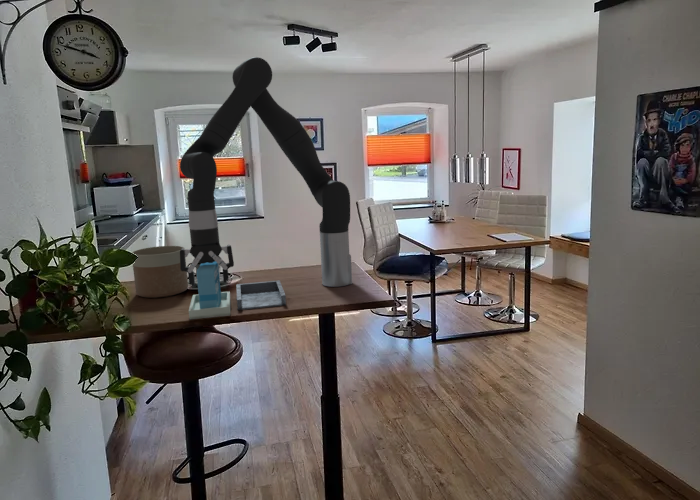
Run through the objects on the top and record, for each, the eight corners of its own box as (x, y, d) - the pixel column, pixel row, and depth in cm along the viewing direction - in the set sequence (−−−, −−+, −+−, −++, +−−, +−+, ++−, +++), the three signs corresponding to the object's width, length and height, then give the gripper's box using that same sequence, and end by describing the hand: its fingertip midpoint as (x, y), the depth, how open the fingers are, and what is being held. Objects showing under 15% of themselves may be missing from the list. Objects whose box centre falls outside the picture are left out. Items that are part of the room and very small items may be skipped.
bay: (280, 289, 166) (279, 280, 165) (286, 305, 148) (285, 295, 148) (237, 293, 163) (236, 284, 162) (237, 310, 145) (236, 299, 145)
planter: (187, 283, 179) (183, 244, 176) (190, 294, 164) (185, 251, 161) (137, 289, 173) (132, 248, 171) (135, 301, 159) (130, 257, 156)
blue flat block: (217, 312, 142) (213, 269, 140) (200, 313, 142) (196, 270, 139) (221, 300, 154) (218, 260, 152) (205, 301, 153) (202, 261, 151)
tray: (230, 299, 157) (229, 291, 156) (230, 315, 141) (229, 306, 140) (193, 302, 155) (192, 294, 154) (189, 319, 139) (188, 310, 138)
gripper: (230, 222, 149) (235, 278, 152) (177, 226, 146) (183, 283, 149) (230, 226, 141) (235, 284, 144) (175, 230, 138) (181, 289, 141)
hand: (209, 283), depth 146 cm, fingers open, 8 cm apart
